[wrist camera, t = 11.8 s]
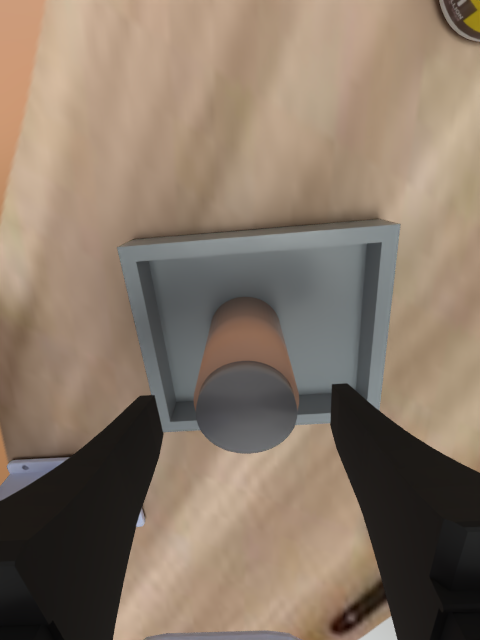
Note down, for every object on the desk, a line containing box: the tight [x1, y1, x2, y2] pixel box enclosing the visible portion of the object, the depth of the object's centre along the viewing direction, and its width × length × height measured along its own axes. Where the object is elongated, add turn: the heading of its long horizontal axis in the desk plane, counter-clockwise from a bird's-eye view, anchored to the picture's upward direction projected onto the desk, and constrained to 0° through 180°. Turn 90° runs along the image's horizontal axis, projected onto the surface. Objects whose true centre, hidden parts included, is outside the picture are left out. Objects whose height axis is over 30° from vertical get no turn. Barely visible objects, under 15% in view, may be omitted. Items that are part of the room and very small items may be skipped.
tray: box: [117, 219, 400, 432], centre depth 19 cm, size 14×12×2 cm
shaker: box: [194, 297, 299, 453], centre depth 16 cm, size 4×4×8 cm
